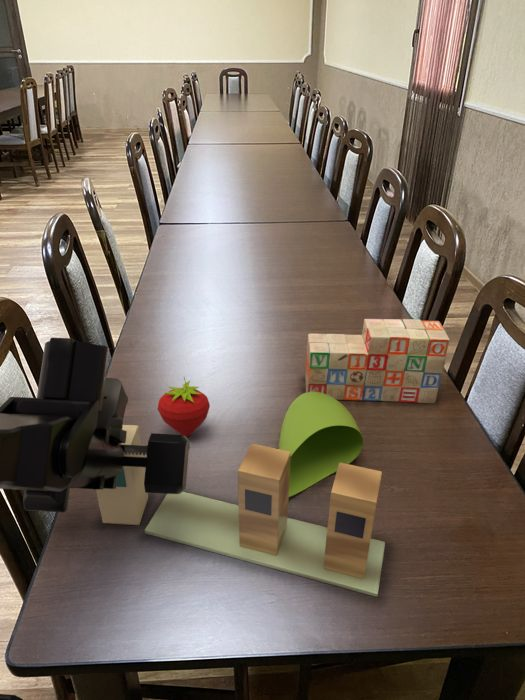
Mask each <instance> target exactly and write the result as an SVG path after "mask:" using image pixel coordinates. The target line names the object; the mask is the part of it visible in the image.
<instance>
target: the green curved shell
mask: <svg viewBox="0 0 525 700" xmlns="http://www.w3.org/2000/svg"><path fill="white" fill-rule="evenodd" d="M278 441H279V442H278V449H280V450H285V451H289V452H291V456H290V477H289V498H290V497H292V496H295V495H297V494H299V493H301V492H302V491H305V490H306V489H308V488H309V487H312V486H313V485H315V484H316V483H318V482H320V481H321V480H323V479H325V478H327V477H329V476H330V475H332V474H334V473H336V472H337V469H338V465H339V462H340V463H345V464H350V463H352V462H353V461H354V460H355V459H356V458H357V457H358V456H359V455H360V454H361V452H362V450H363V448H364V447H363V446H364V438H363V435H362V433H361V431H360V428H359V427H358V424H357V422H356V420H355V418H354V416H353V415H352V414H351V412H350V411H349V410H348V408H346V406H345V405H343V404H342V403H341V402H340V401H339V400H336V399H334V398H333V397H331V396H329V395H327V394H324V393H320V392H307V393H306V392H304V393H302V394H300V395H298V396H297V397H296V398H295V399H294V400H293V401H292V402H291V404H290V406H289V407H288V408H287V411H286V412H285V415H284V418H283V421H282V425H281V429H280V433H279V439H278Z"/></svg>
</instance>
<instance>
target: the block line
mask: <svg viewBox="0 0 525 700" xmlns="http://www.w3.org/2000/svg"><path fill="white" fill-rule="evenodd" d="M290 456H291V452H289V451H285V450H280V449H279V448H276V447H270V446H266V445H261V444H257V443H251V444H250V445H249V448H248V449H247V452H246V453H245V456H244V458H243V460H242V462H241V463H240V465H239V467H238V469H237V478H238V479H237V486H238V488H237V489H238V491H237V492H238V504H234V503H230V502H226V501H221V500H217V499H214V498H210V497H206V496H202V495H197V494H194V493H190V492H185V491H183V492H182V493H180V494H165V497H164V498H163V500H162V501H161V502H160V505H159V506H158V508H157V509H156V511H155V512H154V514H153V516H152V517H151V519H150V520H149V522H148V523H147V525H146V527H145V528H144V534H146V535H150V536H154V537H156V538H157V537H158V538H161V539H164V540H168V541H171V542H175V543H179V544H182V545H185V546H190V547H194V548H198V549H201V550H204V551H207V552H212V553H215V554H218V555H223V556H226V557H230V558H234V559H237V560H241V561H244V562H247V563H251V564H256V565H259V566H262V567H265V568H269V569H273V570H277V571H280V572H283V573H284V572H285V573H288V574H292V575H295V576H299V577H302V578H305V579H310V580H313V581H317V582H321V583H323V584H327V585H331V586H335V587H339V588H343V589H347V590H348V591H354V592H356V593H361V594H364V595H368V596H371V597H375V598H378V596H379V588H380V582H381V576H382V575H381V574H382V569H383V561H384V554H385V547H386V541H384V540H380V539H379V540H378V539H375V538H372V536H373V535H372V534H373V530H374V529H373V528H374V523H375V516H376V512H377V511H376V510H377V505H378V499H379V493H380V487H381V483H382V475H383V471H381V470H376V469H373V468H367V467H364V466H360V465H359V466H358V465H354V464H350V463H349V464H345V463H340V462H339V465H338V469H337V471H336V472H335V475H334V480H333V483H332V484H333V485H332V488H331V491H330V498H329V499H330V500H329V509H328V518H327V527H326V526H323V525H320V524H315V523H311V522H307V521H302V520H299V519H295V518H291V517H289V516H288V515H289V498H290V497H289V477H290Z"/></svg>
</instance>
